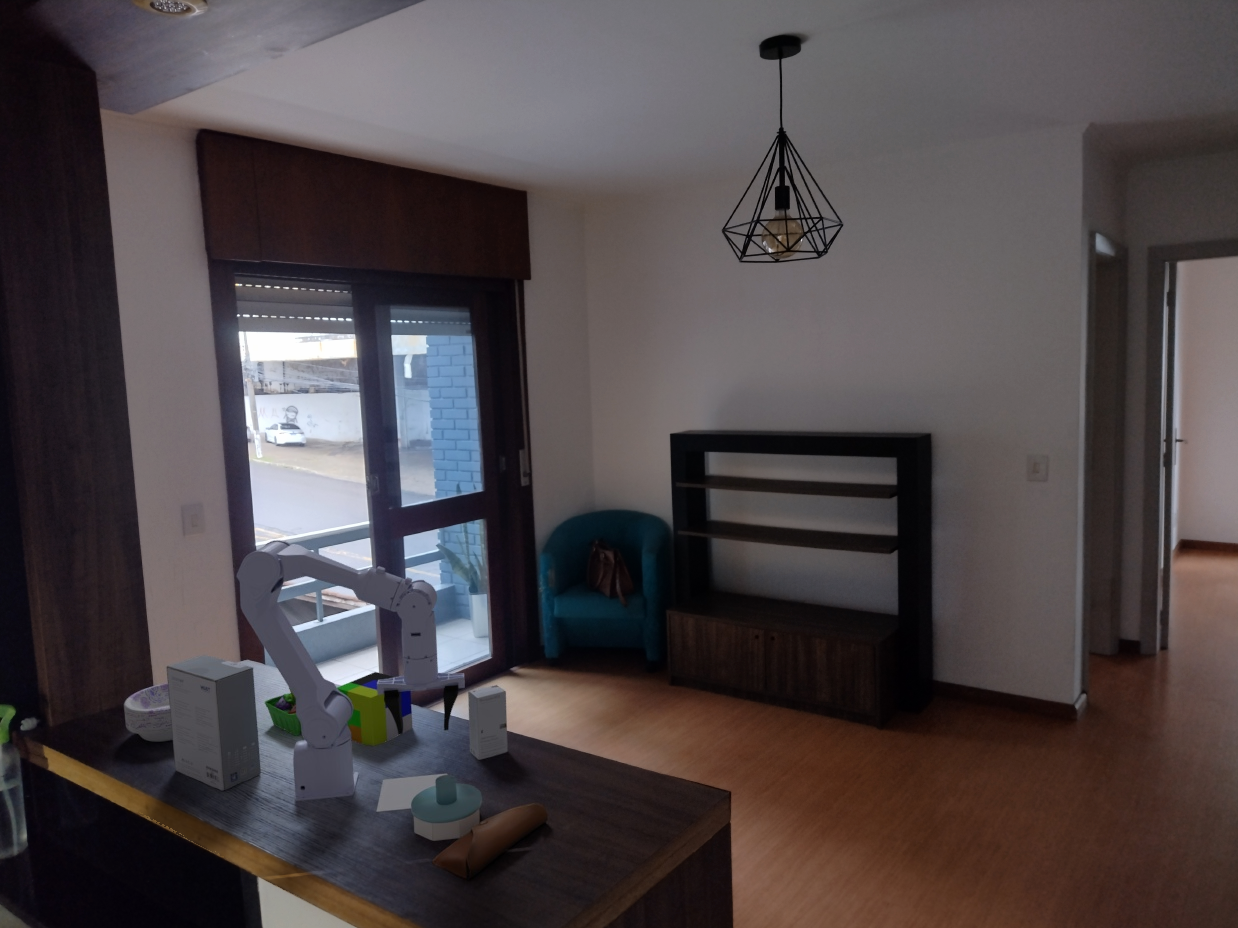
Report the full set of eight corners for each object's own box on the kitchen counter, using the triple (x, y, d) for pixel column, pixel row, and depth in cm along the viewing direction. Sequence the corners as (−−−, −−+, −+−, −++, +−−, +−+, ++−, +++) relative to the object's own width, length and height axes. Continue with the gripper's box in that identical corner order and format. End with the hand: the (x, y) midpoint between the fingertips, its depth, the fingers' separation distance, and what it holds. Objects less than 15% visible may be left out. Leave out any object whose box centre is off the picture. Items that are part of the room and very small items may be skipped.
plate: (376, 813, 140) (376, 811, 140) (383, 781, 151) (383, 779, 151) (445, 806, 142) (445, 804, 142) (447, 775, 153) (447, 773, 153)
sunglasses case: (507, 808, 141) (522, 780, 138) (537, 839, 138) (553, 811, 135) (427, 863, 126) (442, 833, 123) (459, 899, 123) (475, 869, 120)
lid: (411, 827, 130) (410, 801, 129) (410, 792, 141) (409, 768, 140) (485, 816, 133) (484, 790, 132) (478, 783, 143) (477, 759, 143)
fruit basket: (264, 724, 176) (260, 671, 175) (304, 711, 183) (301, 659, 181) (292, 740, 168) (288, 684, 167) (333, 725, 175) (330, 671, 174)
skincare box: (478, 761, 158) (476, 698, 156) (469, 752, 161) (466, 690, 160) (509, 752, 161) (507, 690, 160) (498, 744, 165) (496, 683, 163)
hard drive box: (263, 774, 154) (255, 667, 152) (223, 792, 148) (214, 681, 146) (212, 754, 163) (204, 652, 160) (172, 770, 156) (163, 665, 154)
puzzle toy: (412, 728, 173) (410, 680, 172) (373, 747, 164) (371, 697, 163) (377, 718, 178) (375, 671, 177) (338, 736, 170) (335, 687, 169)
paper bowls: (161, 754, 163) (158, 714, 162) (109, 740, 170) (106, 702, 169) (228, 723, 177) (226, 686, 176) (178, 711, 183) (175, 676, 182)
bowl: (413, 844, 131) (412, 826, 130) (417, 811, 141) (416, 793, 140) (479, 837, 132) (479, 818, 132) (479, 804, 142) (478, 787, 142)
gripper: (373, 664, 142) (377, 743, 143) (462, 658, 144) (466, 735, 146) (377, 650, 149) (382, 726, 150) (463, 644, 151) (466, 718, 153)
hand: (423, 729), depth 148 cm, fingers open, 7 cm apart
